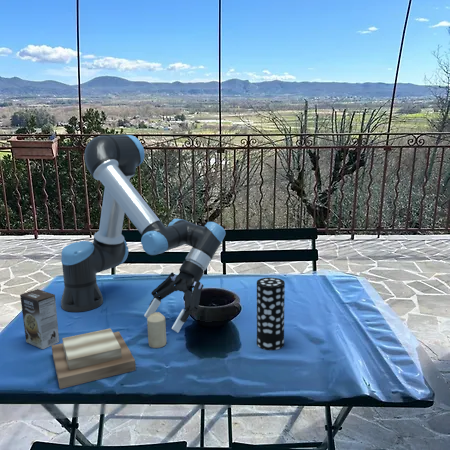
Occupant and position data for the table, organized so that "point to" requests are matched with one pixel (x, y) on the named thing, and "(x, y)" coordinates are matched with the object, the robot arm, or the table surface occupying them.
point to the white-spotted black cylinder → (270, 313)
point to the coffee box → (40, 318)
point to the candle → (156, 330)
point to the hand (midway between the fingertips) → (160, 324)
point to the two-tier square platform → (91, 357)
